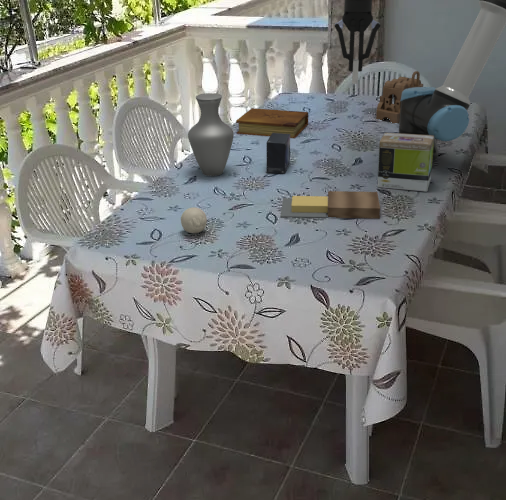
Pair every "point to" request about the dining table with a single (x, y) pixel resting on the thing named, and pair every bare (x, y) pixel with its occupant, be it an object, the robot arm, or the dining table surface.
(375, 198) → the brown flat block
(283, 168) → the small box
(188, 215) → the baseball
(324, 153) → the dining table surface
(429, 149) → the tea box
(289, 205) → the mat
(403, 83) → the wooden puzzle
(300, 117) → the diary
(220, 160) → the vase
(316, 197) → the yellow block
